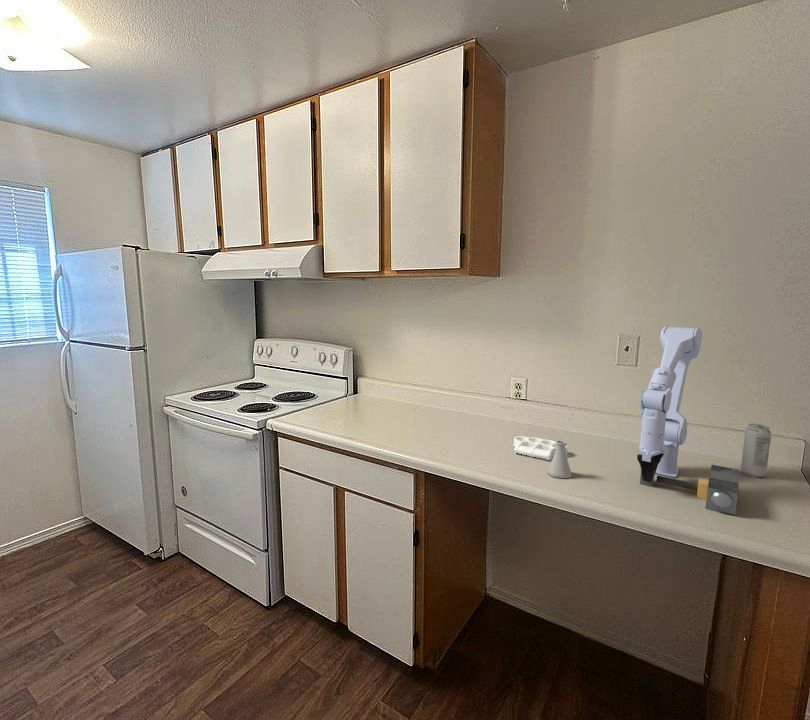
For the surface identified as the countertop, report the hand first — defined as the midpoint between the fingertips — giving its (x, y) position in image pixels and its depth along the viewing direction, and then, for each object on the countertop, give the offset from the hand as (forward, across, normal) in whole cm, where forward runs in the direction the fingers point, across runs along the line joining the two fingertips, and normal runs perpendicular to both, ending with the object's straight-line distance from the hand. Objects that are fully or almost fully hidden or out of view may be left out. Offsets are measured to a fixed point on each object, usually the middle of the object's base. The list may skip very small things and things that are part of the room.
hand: (648, 478), depth 125 cm
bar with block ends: (+1, 0, -7) cm, 8 cm away
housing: (+1, 0, -17) cm, 17 cm away
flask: (+2, -9, +22) cm, 24 cm away
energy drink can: (+2, +27, -24) cm, 36 cm away
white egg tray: (+2, +6, +34) cm, 35 cm away
